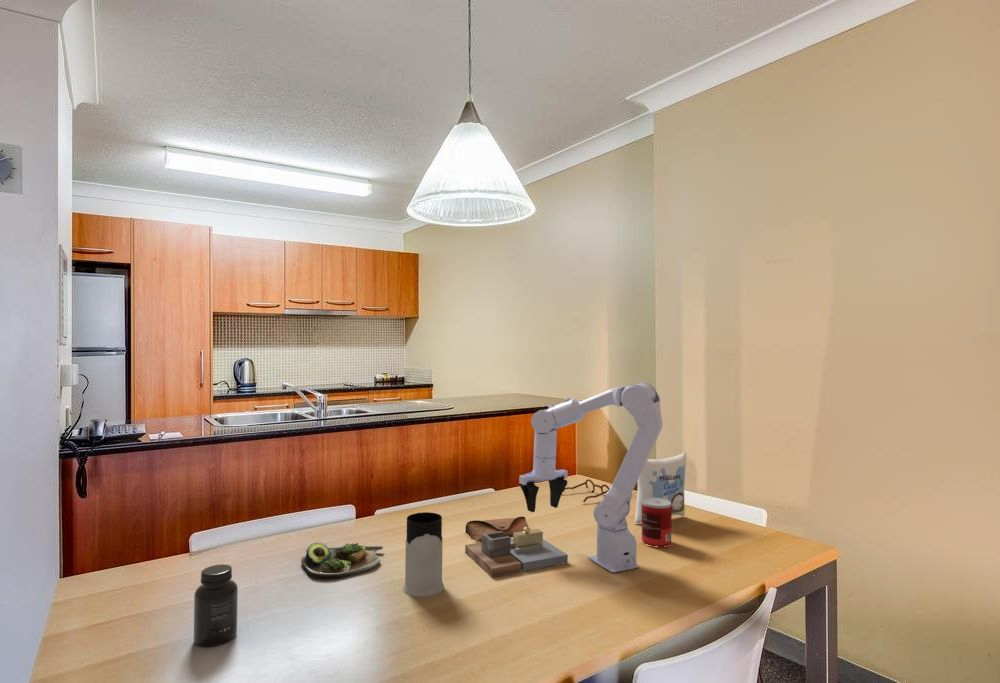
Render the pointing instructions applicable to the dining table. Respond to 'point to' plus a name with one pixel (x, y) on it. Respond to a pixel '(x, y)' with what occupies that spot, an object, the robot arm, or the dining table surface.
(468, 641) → the dining table surface
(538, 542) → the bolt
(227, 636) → the supplement bottle
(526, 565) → the door leaf
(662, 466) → the pouch
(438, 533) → the glass holder
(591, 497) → the glasses
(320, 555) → the salad plate
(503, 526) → the sunglasses case
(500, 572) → the panel
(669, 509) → the canned food
